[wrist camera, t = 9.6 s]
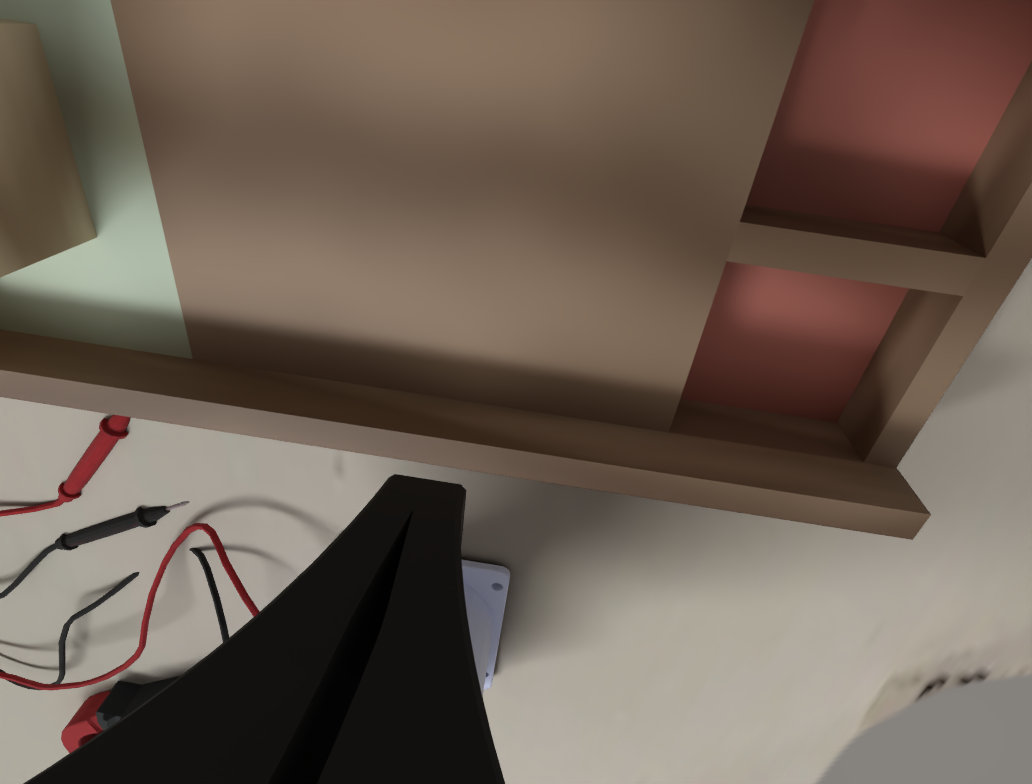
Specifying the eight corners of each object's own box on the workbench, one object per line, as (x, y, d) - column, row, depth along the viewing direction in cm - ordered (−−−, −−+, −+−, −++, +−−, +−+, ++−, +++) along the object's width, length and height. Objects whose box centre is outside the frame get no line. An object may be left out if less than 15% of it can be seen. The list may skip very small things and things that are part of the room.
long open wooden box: (848, 442, 20) (912, 539, 16) (23, 316, 20) (-106, 380, 16) (1135, -63, 12) (1388, -109, 8) (-202, -244, 13) (-537, -364, 9)
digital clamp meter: (412, 786, 29) (86, 820, 36) (432, 699, 33) (132, 746, 40) (61, 454, 18) (-302, 598, 26) (150, 383, 22) (-189, 526, 29)
